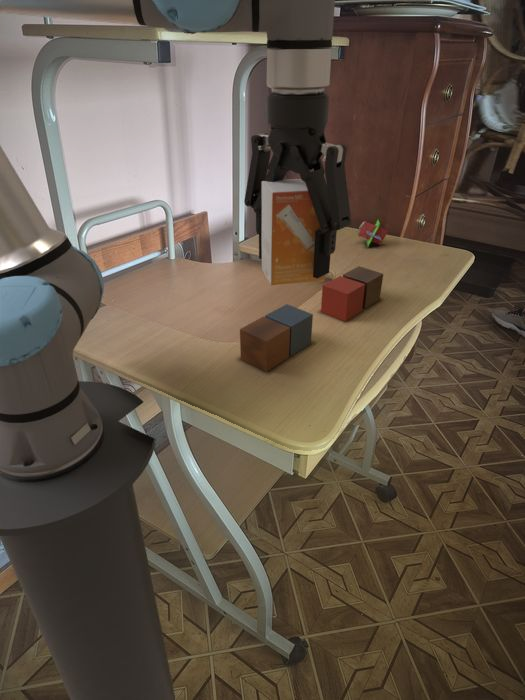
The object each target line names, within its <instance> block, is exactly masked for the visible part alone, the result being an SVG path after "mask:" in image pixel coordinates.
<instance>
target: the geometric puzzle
mask: <svg viewBox="0 0 525 700" xmlns="http://www.w3.org/2000/svg"><path fill="white" fill-rule="evenodd" d="M370 221H372V220H369V221H367V220H365V221H363V222H362V223H361V224H360V225H359V227H358V231H359V232H357V233H358V234H357V237H359V238H360V240H362V241H365V242H366V246H367V247H372V245H371V244H372V243H373V245H375V246H381V245H382V243H383V241H384V240H385V238H386V236H387V234H388V232H389V230H388V229H386V228H384V227H385V225H383V224H382V225H381V222H380V219H379V218H378V219H377V220H376V222H375V224H374V223H373V222H370ZM381 226H382V227H381Z"/></svg>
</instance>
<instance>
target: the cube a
mask: <svg viewBox="0 0 525 700" xmlns="http://www.w3.org/2000/svg"><path fill="white" fill-rule="evenodd" d="M239 340H240V341H239V350H240V351H239V352H240V360H241V361H244V362H246V363H248V364H250V365H251V366H254V367H256V368H257V369H260V370H261V371H264V372H266V373H267V372H269V371H271V370H272V369H274V368H275V367H276V366H278V365H279V364H281V363H282V362H285V361H286V360H287V359H289V358H290V356H289V344H290V327H287V326H285V325H283V324H280V323H278V322H276V321H273V320H271V319H268V318H266V317H265V315H264V316H262V317H259V318H258V319H256V320H254V321H252V322H251V323H250V322H249V324H247V325H245V326H243V327H241V328H239Z"/></svg>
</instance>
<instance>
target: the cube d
mask: <svg viewBox="0 0 525 700" xmlns="http://www.w3.org/2000/svg"><path fill="white" fill-rule="evenodd" d="M342 277H345V278H348V279H351V280H354V281H357V282H360V283H363V284H365V289H364V298H363V306H362V310H366V309H367V308H369V307H371V306H372V305H374V304H375V303H377V302H378V301H380V300H381V295H382V288H383V281H384V273H383V272H379V271H377V270H373V269H370V268H367V267H363V266H360V265H358V266H357V267H353V269H351V270H349V271H347V272H345V273H343V274H342Z"/></svg>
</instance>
